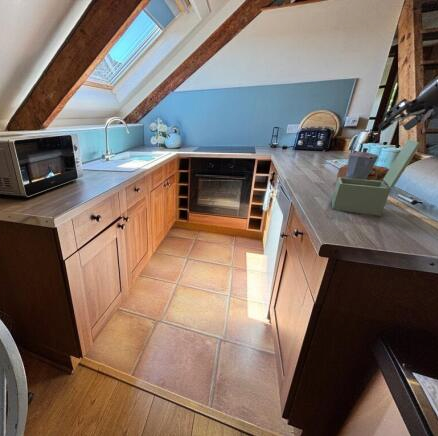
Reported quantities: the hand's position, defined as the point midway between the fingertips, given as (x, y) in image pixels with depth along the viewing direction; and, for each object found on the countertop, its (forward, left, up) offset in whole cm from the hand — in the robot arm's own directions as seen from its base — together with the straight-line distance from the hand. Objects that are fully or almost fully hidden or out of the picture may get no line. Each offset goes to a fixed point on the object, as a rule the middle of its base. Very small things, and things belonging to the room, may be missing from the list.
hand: (392, 128), depth 77 cm
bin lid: (-6, +2, -11) cm, 13 cm away
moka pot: (-17, -16, -29) cm, 37 cm away
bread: (-38, -24, -29) cm, 53 cm away
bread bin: (-1, -4, -28) cm, 29 cm away
